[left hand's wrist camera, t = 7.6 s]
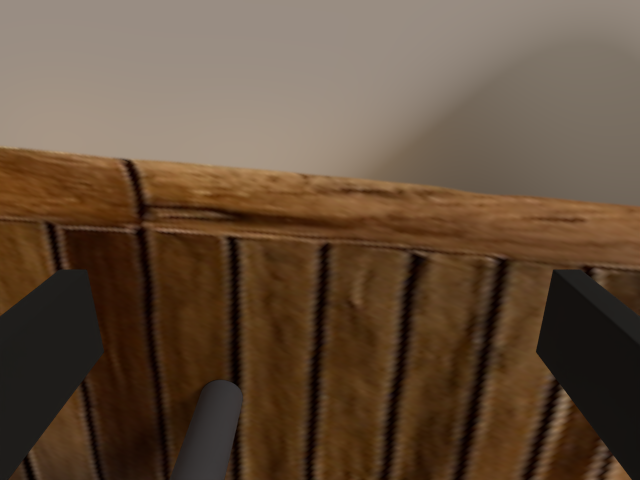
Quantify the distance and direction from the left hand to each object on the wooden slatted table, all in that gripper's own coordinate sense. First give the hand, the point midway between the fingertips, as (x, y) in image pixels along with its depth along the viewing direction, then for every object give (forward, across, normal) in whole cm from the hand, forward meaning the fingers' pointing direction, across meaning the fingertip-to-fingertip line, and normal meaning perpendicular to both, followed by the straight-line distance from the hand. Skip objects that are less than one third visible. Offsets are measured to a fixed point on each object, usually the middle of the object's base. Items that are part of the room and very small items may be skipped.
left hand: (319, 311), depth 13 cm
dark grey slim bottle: (+28, +11, +27) cm, 40 cm away
